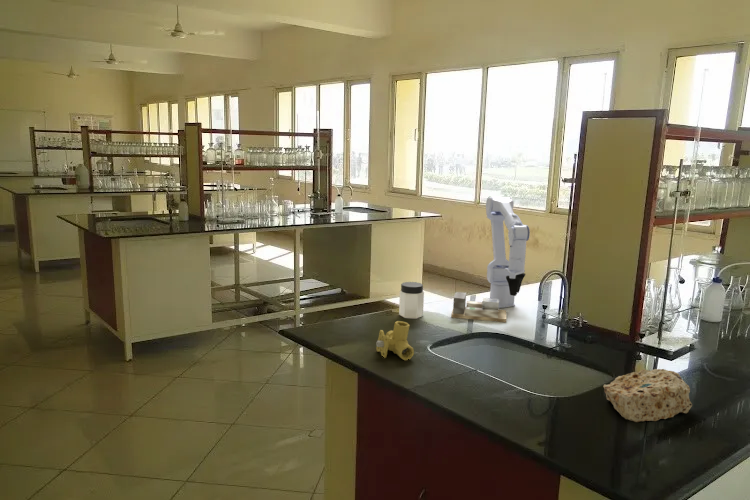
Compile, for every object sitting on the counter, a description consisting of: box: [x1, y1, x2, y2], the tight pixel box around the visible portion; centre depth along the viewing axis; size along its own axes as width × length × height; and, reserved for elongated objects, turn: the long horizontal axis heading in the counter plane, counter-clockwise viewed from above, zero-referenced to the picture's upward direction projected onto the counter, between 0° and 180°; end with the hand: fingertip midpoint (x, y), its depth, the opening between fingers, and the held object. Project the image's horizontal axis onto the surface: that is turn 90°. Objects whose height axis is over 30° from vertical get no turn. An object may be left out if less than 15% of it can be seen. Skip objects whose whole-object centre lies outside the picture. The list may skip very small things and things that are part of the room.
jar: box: [398, 281, 425, 320], centre depth 209 cm, size 9×8×12 cm
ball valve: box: [375, 320, 415, 361], centre depth 170 cm, size 13×10×10 cm
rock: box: [602, 368, 693, 423], centre depth 138 cm, size 21×14×10 cm
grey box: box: [481, 297, 500, 310], centre depth 209 cm, size 6×8×5 cm
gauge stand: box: [450, 291, 507, 323], centre depth 211 cm, size 20×12×7 cm, turn 77°
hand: (514, 293), depth 208 cm, fingers open, 4 cm apart
